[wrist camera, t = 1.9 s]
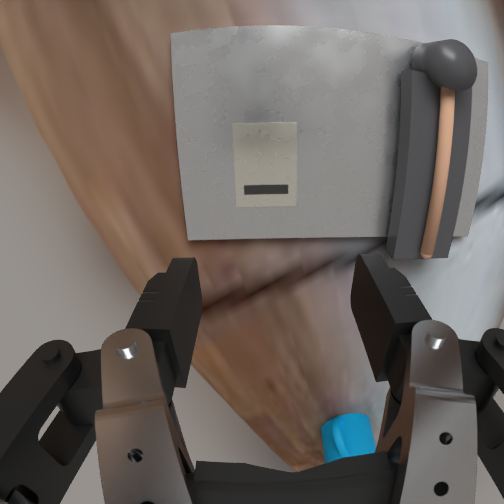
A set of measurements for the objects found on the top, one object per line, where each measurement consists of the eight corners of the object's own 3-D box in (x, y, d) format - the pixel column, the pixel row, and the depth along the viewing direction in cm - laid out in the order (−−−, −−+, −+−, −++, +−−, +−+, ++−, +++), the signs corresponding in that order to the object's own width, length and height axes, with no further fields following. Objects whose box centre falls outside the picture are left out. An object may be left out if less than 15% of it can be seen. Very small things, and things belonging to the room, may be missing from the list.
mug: (373, 427, 46) (382, 466, 39) (329, 441, 48) (334, 480, 41) (357, 396, 41) (368, 442, 34) (305, 413, 43) (310, 460, 36)
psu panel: (190, 235, 29) (187, 241, 28) (173, 35, 21) (170, 33, 20) (463, 232, 28) (468, 237, 27) (482, 62, 20) (488, 62, 19)
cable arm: (400, 36, 19) (422, 30, 15) (459, 51, 19) (485, 50, 15) (385, 248, 28) (401, 271, 24) (438, 247, 28) (457, 268, 24)
